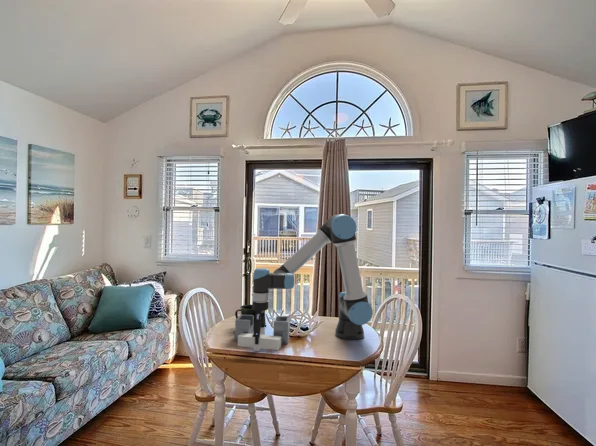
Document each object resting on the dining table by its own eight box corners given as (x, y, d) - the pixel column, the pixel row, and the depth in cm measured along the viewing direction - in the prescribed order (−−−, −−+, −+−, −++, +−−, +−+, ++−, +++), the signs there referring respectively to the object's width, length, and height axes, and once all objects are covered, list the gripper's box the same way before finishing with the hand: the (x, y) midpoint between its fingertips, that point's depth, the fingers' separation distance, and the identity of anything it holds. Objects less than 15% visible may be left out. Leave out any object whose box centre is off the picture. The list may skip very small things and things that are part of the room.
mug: (255, 332, 187) (256, 310, 187) (230, 329, 191) (231, 307, 191) (263, 326, 197) (263, 305, 197) (239, 324, 201) (239, 303, 201)
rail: (281, 346, 167) (281, 336, 167) (278, 350, 162) (278, 339, 162) (241, 343, 171) (241, 332, 171) (237, 346, 166) (237, 336, 166)
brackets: (289, 336, 181) (289, 316, 181) (287, 343, 170) (288, 322, 170) (239, 334, 183) (240, 314, 183) (234, 341, 172) (235, 320, 172)
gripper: (257, 295, 179) (256, 336, 179) (247, 306, 154) (246, 355, 154) (271, 295, 179) (270, 337, 179) (264, 307, 154) (262, 355, 154)
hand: (259, 345), depth 166 cm, fingers open, 13 cm apart
